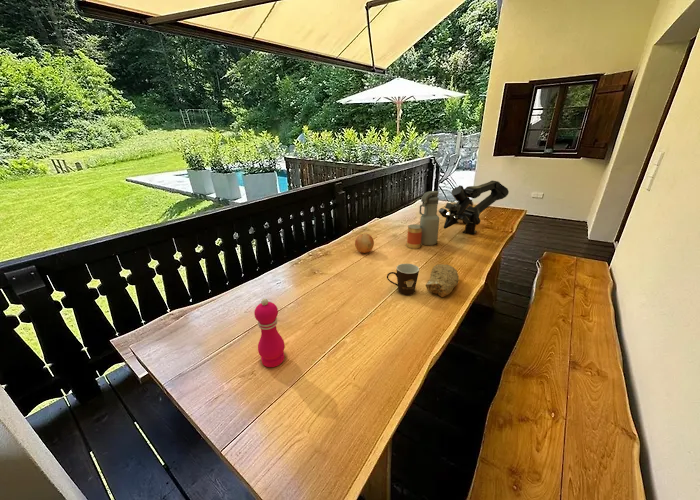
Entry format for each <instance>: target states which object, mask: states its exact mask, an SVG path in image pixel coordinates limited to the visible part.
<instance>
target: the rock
mask: <svg viewBox="0 0 700 500" xmlns="http://www.w3.org/2000/svg"><path fill="white" fill-rule="evenodd" d="M459 277H460V276H459V274H458V270H457V269H456V268H455V267H454V266H452V265H449V264H443V263H440V264H435V265H434V266H433V267H432V268H431V272H430V278H429V280H427V282H426V283H425V287H426V289H427V290H428V291H429V292H431V293H433V294H435V295H438V296H439V297H441V298H442V297H443V298H444V297H446V296H448V295H450V294H451V293H452V292H453V290H454V288H455V287H457V286H458V284H459V281H460V279H459Z"/></svg>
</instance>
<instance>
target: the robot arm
mask: <svg viewBox="0 0 700 500" xmlns="http://www.w3.org/2000/svg"><path fill="white" fill-rule="evenodd" d="M489 191H490V194H488V195H487V196H486V197H485V198H484V199H482V200H481V201H480V202H479V203H478V204H476V205H474V206H473V207H471V206H469V207H468V208H467V206H468V205H469V204H470V205H472V202H473V199H477V198H478V197H480V196H481V194H483V193H486V192H489ZM509 192H510V191H509V189H508V188H507V187H506V186H505V185H503V184H501V182H500V181H498V180H490V181H488V182H485V183H482V184H479V185H470V186H466V187H465V188H464V186H463V185H460V184H459V185H458V186H456V187H454V188H452V190H451V192H450V194H451V195H452V197H453V198H454V199H455V201H456V203H450V202H446V204H445V207H444V208H443V207H441V208H439V209H438V213H439V214H440V216H441V217H442V218H445V221H444V225H443V229H445V230H446V229H448V228H450V227H452V226H454V225H457V224H460V223H459V220H462V221H463V223H462V224H463V225H464V230H463V231H462V234H466V235H473V236H475V234H477V230H476V227H477V225H478V226H479V225H480V224H481V219H480V214H481V213H482V212H484V211H485V210H486V209H487V208H489V207H490V206H491V205H492V204H494V203H495V202H497V201H500V200H503V199H505V198H506V197H507V196H508V195H509ZM466 208H467V209H466Z"/></svg>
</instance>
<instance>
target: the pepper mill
mask: <svg viewBox="0 0 700 500" xmlns="http://www.w3.org/2000/svg"><path fill="white" fill-rule="evenodd" d="M253 314H254V317H255V320H256V322H257V326H258V328H259V329H260V333H261V335H260V338H259V341H258V344H257V352H258V355H259V356H260V358H261V364H262V365H263V366H265V367H266V368H274V367H278V366H280V365H281V364H282V363H283V362H284V360H285V348H286V346H285V345H286V344H285V340H284V339H283V337H282V335H281V334H280V333H279V331H278V329H277V325H278V318H277V317H278V314H279V309H278V307H277V305H276V304H275V303H273V302H271V301H269V300H268V298H266V297H265V298H262V299H261V301H260V303H259V304H258V305H256V307H255V309H254V312H253Z"/></svg>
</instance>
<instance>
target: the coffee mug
mask: <svg viewBox="0 0 700 500" xmlns="http://www.w3.org/2000/svg"><path fill="white" fill-rule="evenodd" d="M395 269H396V272H395V271H390V272H388V273H387V275H386V279H387V281H388V282H389V283H391V284H393V285H395V286H396V287H397V291H398V293H399V294H400V295H403V296H412V295H414V294H415V292H416V287H417V282H418V279H419V273H420V267H419V266H418V265H416V264H413V263H400V264H397V266H396V268H395ZM391 275H395V277H396V281H397V283H396V282H394V281H393V280H391V279H389V276H391Z"/></svg>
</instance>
